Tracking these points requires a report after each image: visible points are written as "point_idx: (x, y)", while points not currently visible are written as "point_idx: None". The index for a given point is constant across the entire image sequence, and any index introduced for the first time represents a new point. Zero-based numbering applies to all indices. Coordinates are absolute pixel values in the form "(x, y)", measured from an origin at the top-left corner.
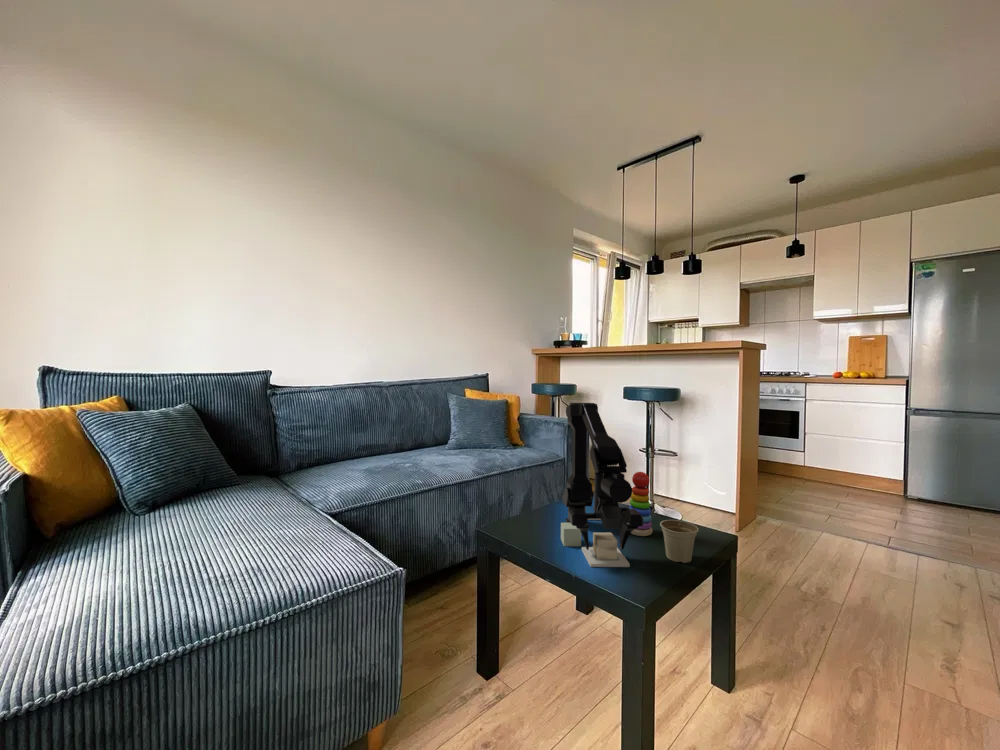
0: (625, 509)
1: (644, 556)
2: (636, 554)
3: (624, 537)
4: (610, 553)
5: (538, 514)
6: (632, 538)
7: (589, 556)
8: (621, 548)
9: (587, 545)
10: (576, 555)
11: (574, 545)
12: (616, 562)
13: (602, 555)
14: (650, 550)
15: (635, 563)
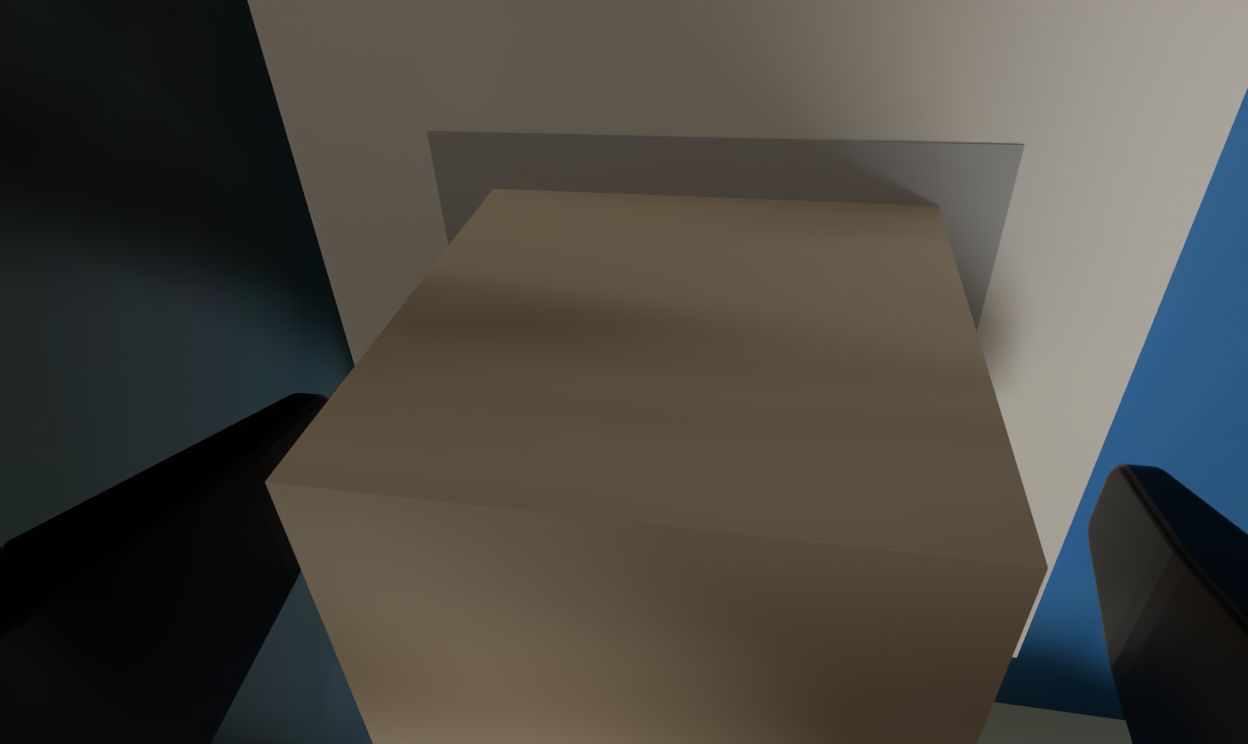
0: None
1: (54, 348)
2: (170, 412)
3: (40, 583)
4: (607, 257)
5: None
6: (231, 727)
7: (1070, 343)
8: (315, 416)
9: (1218, 540)
10: (1234, 474)
11: (1061, 722)
12: (530, 26)
13: (823, 240)
14: (6, 488)
15: (168, 115)
